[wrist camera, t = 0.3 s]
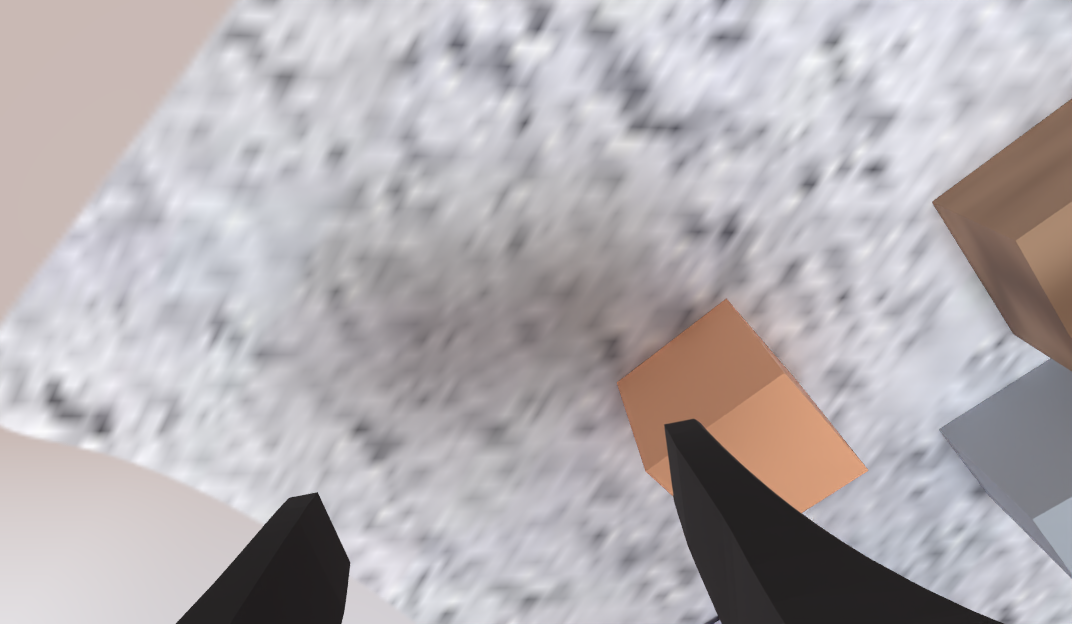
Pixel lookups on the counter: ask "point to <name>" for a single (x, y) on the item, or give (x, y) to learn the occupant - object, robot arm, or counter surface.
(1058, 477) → the slate block
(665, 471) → the terracotta block
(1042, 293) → the walnut block
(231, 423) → the counter surface
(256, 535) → the robot arm
